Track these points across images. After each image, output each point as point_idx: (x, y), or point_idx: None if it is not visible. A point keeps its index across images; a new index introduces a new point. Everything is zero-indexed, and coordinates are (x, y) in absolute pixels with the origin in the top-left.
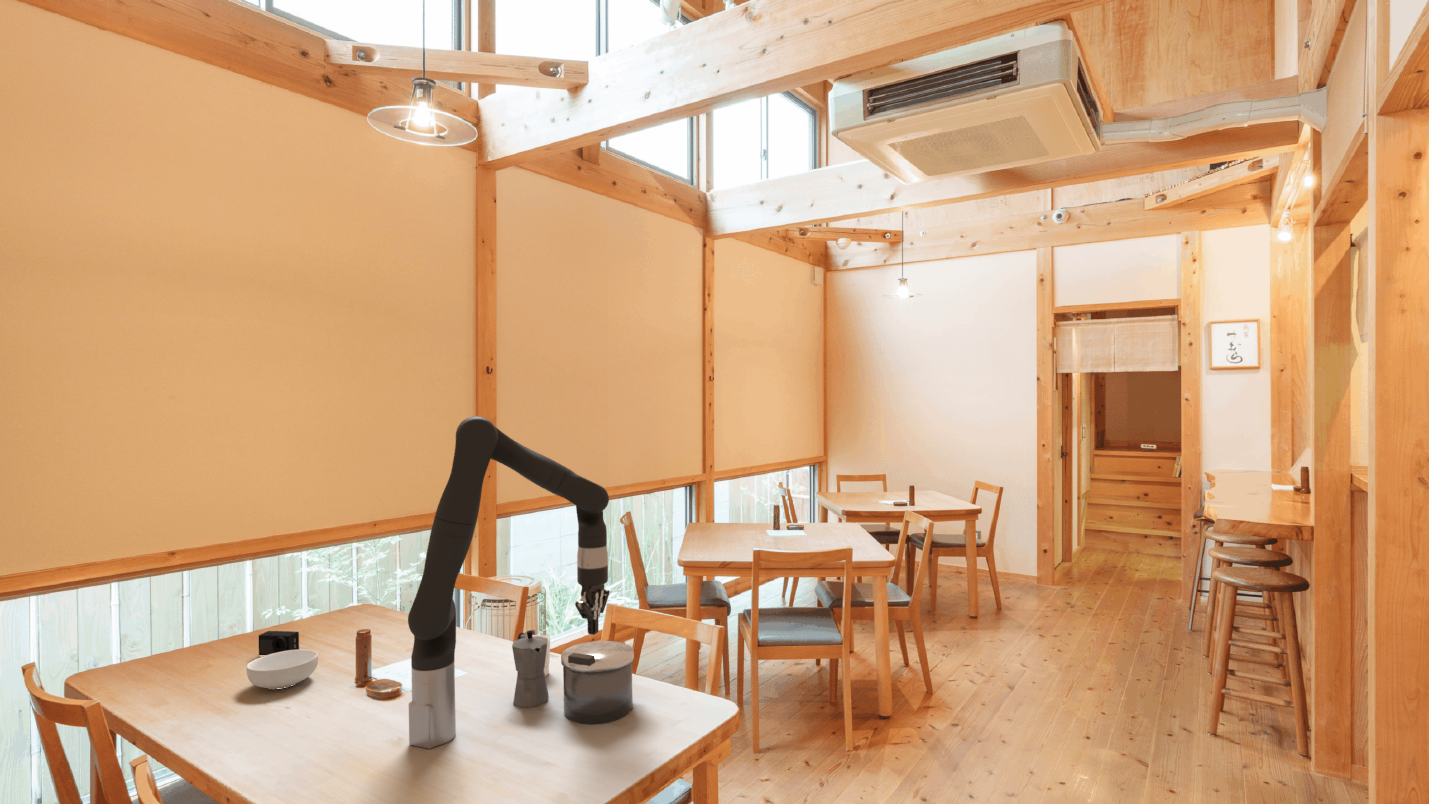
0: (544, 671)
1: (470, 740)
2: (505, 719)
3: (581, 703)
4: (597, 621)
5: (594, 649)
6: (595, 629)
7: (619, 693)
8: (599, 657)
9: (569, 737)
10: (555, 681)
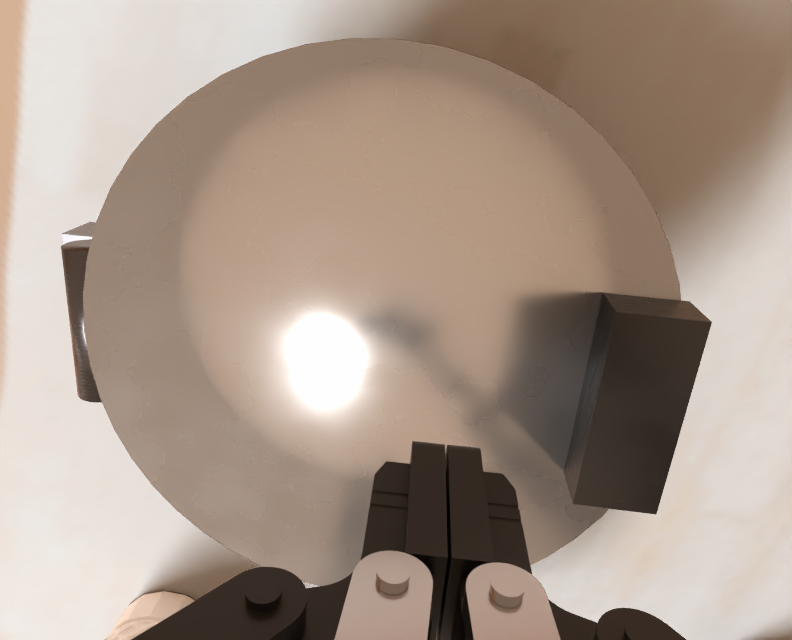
0: (173, 611)
1: (759, 589)
2: (578, 558)
3: None
4: (432, 526)
5: (315, 414)
6: (482, 474)
7: None
8: (478, 304)
9: (703, 249)
10: (203, 538)
